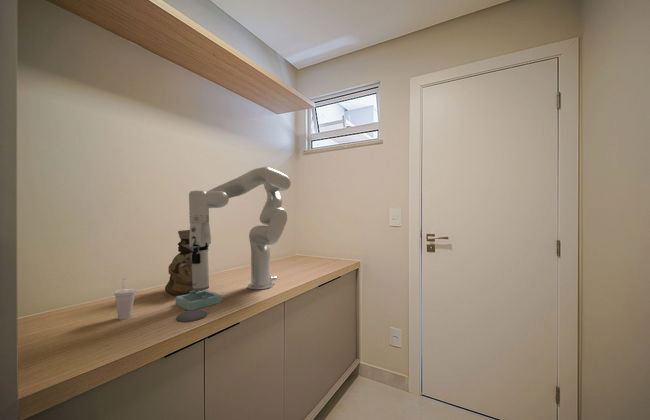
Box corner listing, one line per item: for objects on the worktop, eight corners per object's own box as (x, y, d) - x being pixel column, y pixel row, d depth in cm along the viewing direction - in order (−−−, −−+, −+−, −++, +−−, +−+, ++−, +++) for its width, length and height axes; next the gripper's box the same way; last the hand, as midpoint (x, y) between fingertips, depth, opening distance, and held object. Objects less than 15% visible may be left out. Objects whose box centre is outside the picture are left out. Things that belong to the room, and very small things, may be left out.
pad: (200, 309, 101) (200, 307, 101) (212, 315, 95) (212, 313, 95) (172, 317, 93) (172, 315, 94) (183, 324, 87) (183, 322, 87)
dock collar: (206, 296, 118) (206, 287, 118) (221, 302, 109) (221, 292, 110) (175, 304, 108) (175, 294, 108) (189, 311, 99) (189, 300, 100)
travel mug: (192, 292, 105) (191, 243, 105) (192, 288, 111) (191, 241, 111) (209, 289, 108) (208, 242, 108) (208, 285, 114) (207, 240, 114)
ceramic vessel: (159, 300, 113) (160, 231, 114) (168, 288, 132) (169, 229, 133) (207, 295, 120) (207, 230, 121) (209, 284, 140) (209, 228, 140)
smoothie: (117, 315, 95) (117, 277, 95) (138, 313, 98) (138, 276, 98) (110, 322, 89) (111, 281, 90) (133, 319, 92) (133, 279, 92)
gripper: (198, 220, 101) (199, 266, 101) (216, 219, 118) (217, 258, 118) (179, 220, 101) (180, 266, 101) (200, 219, 118) (201, 258, 118)
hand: (200, 261), depth 110 cm, fingers closed on travel mug, 6 cm apart
